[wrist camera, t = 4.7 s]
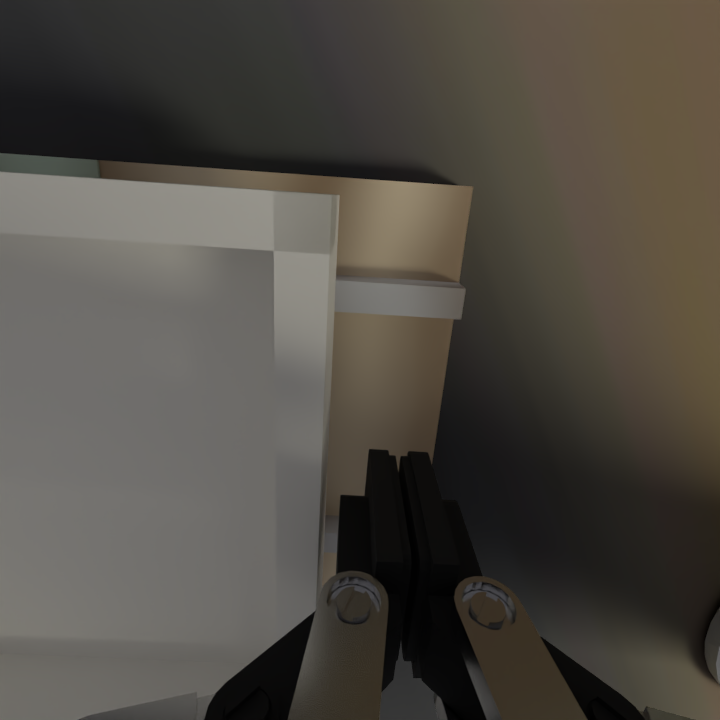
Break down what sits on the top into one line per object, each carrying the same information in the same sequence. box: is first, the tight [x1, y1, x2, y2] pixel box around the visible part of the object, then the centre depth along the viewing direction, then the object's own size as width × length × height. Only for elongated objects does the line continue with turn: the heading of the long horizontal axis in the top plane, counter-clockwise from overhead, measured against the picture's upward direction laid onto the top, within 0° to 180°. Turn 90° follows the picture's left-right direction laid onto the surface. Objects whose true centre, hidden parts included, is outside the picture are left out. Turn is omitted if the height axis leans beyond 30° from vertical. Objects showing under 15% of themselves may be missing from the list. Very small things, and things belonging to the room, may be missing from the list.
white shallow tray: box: [0, 171, 340, 720], centre depth 12 cm, size 13×16×5 cm
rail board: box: [0, 153, 473, 586], centre depth 16 cm, size 25×17×2 cm
